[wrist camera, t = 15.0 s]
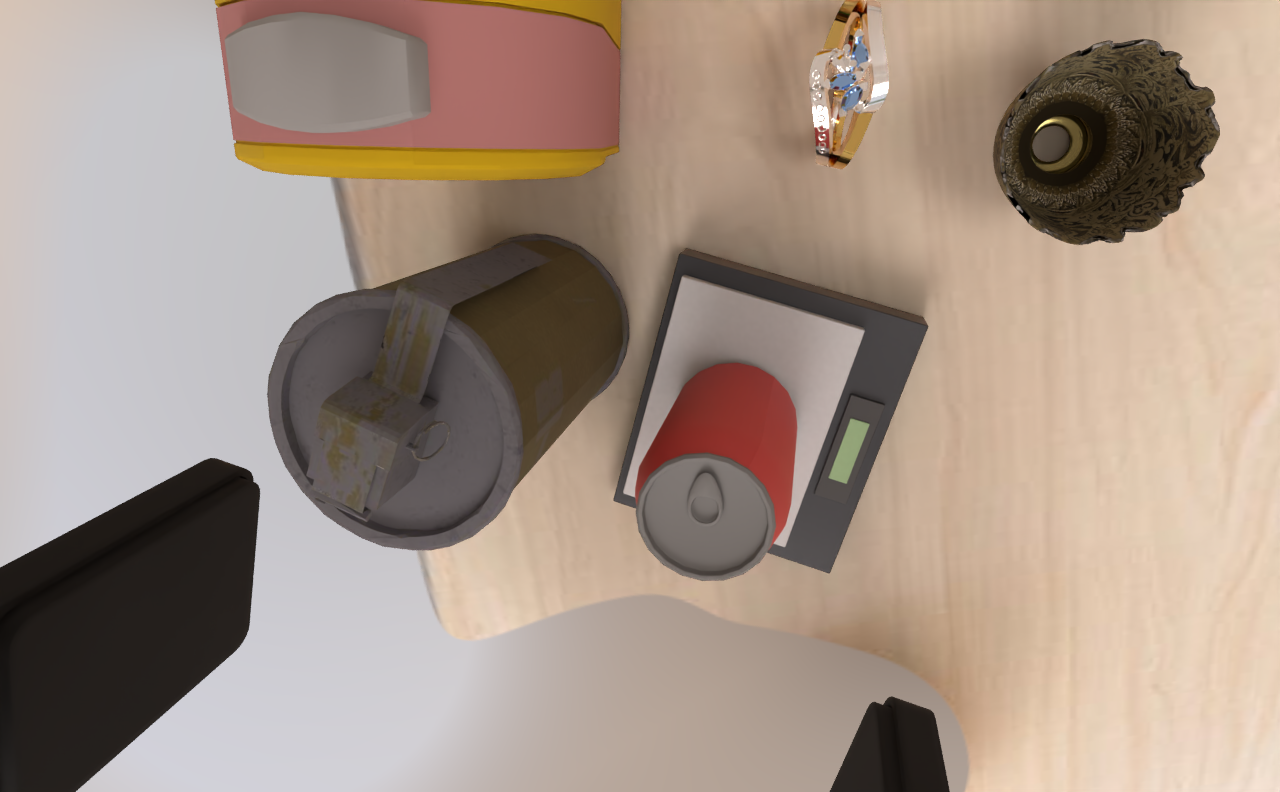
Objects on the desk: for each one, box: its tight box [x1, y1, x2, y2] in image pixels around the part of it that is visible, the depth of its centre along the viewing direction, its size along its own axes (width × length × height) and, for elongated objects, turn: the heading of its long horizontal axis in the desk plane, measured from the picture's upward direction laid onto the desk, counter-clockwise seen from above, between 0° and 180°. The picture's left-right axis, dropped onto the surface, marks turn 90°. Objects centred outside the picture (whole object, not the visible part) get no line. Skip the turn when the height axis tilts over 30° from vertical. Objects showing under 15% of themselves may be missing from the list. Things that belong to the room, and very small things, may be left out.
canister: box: [267, 234, 629, 550], centre depth 36 cm, size 11×10×20 cm
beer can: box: [635, 363, 797, 581], centre depth 36 cm, size 7×7×12 cm
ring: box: [809, 0, 889, 169], centre depth 35 cm, size 7×3×8 cm, turn 166°
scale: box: [614, 248, 928, 573], centre depth 43 cm, size 15×13×3 cm
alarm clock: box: [215, 0, 621, 180], centre depth 33 cm, size 15×8×18 cm, turn 88°
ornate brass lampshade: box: [993, 39, 1220, 245], centre depth 33 cm, size 8×7×8 cm
